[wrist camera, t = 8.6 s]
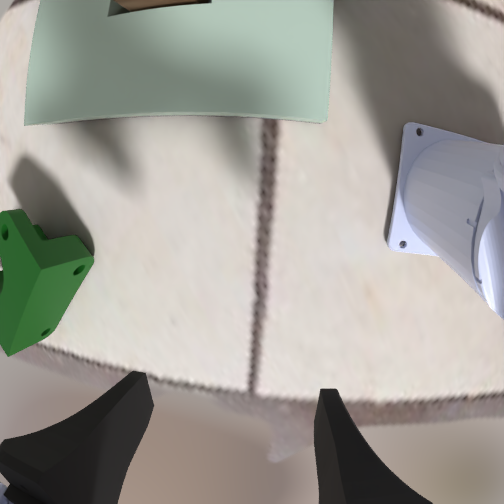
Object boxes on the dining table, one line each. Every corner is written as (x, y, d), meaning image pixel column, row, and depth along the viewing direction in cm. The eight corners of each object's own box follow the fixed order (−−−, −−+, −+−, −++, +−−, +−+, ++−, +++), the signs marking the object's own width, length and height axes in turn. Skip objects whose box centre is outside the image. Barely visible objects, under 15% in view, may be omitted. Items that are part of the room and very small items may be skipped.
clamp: (79, 212, 26) (18, 182, 17) (116, 262, 25) (58, 249, 16) (7, 300, 25) (-58, 300, 16) (38, 349, 24) (-27, 365, 15)
